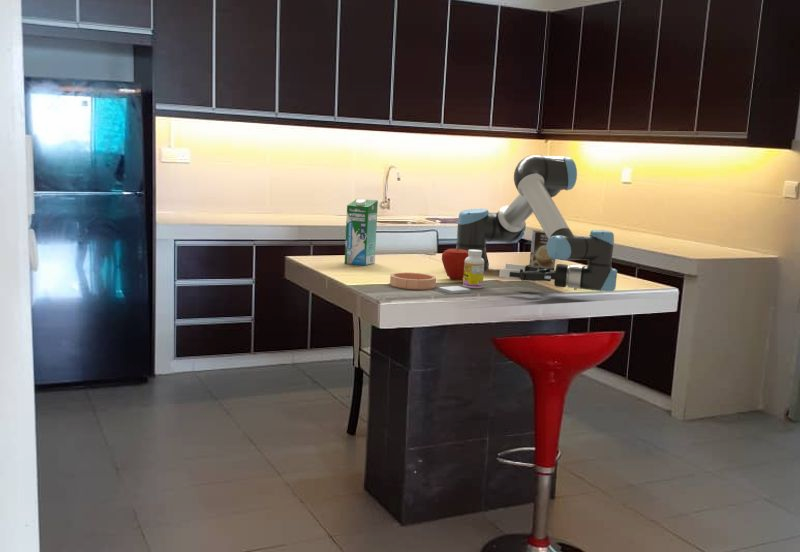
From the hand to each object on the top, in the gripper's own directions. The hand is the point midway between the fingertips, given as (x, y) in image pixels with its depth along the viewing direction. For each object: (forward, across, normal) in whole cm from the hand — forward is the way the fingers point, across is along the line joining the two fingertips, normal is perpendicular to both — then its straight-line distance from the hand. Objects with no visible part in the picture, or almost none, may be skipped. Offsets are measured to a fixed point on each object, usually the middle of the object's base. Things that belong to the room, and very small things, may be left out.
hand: (502, 270), depth 257 cm
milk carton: (+61, +31, -7) cm, 69 cm away
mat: (+13, -13, -7) cm, 20 cm away
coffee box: (-8, +56, -7) cm, 57 cm away
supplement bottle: (+10, 0, -7) cm, 12 cm away
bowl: (+28, -10, -7) cm, 31 cm away
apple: (+18, +13, -7) cm, 23 cm away
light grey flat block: (+13, -13, -6) cm, 20 cm away
